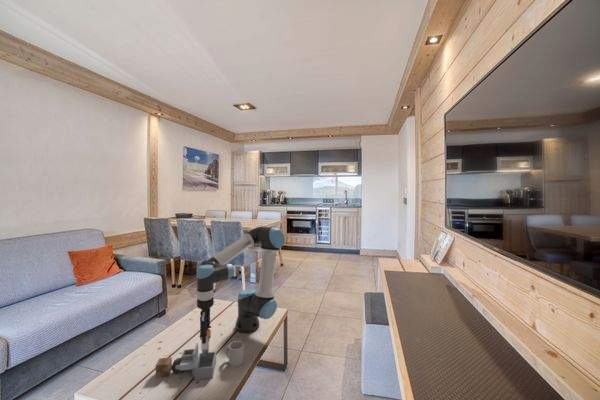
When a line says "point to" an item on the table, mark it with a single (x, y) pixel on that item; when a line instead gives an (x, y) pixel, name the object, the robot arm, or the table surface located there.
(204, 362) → the bin
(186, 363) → the grey bracket
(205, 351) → the pin
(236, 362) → the cup
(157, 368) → the block
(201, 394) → the table surface
